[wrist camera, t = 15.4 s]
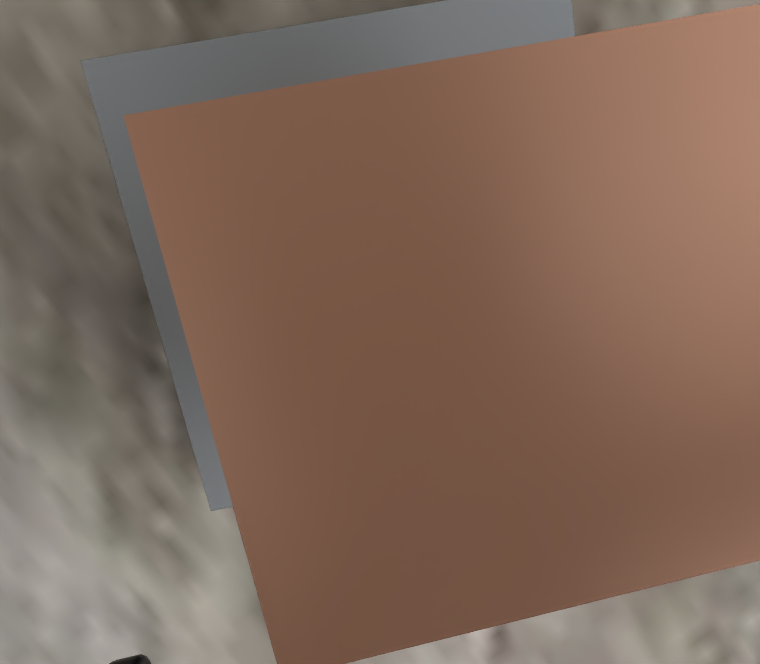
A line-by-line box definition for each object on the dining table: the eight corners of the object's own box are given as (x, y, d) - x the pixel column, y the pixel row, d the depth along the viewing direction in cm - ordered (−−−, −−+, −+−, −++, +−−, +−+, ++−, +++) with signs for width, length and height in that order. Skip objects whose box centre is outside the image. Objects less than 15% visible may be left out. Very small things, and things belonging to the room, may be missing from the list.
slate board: (564, 390, 19) (608, 422, 16) (228, 463, 18) (211, 511, 15) (524, 22, 16) (569, -20, 13) (125, 89, 15) (80, 60, 12)
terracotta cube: (559, 391, 10) (779, 554, 5) (300, 449, 10) (282, 678, 5) (528, 116, 9) (774, 0, 4) (233, 170, 9) (122, 115, 4)
